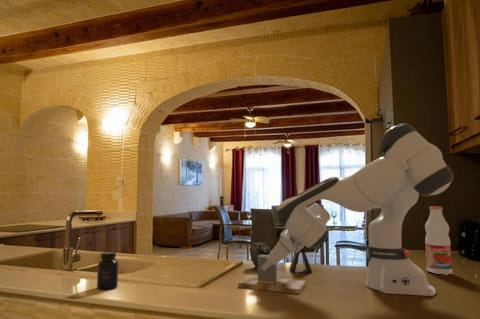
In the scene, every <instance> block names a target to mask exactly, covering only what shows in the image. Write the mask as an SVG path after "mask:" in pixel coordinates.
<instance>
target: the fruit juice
mask: <svg viewBox="0 0 480 319" xmlns="http://www.w3.org/2000/svg"><path fill="white" fill-rule="evenodd" d="M429 211H430V212H429V216H428V219H427V220H426V222H425V224H424V229H425V230H424V231H425V232H426V234H425V238H424V239H425V241H424V245H425V263H426V265H425V266H426V272H427V271H429V272H432V273H436V274H442V275H441V276H449V275H448V274H451V275H453V269H452V268H453V262H452V249H451V246H452V244H451V239H450V237H449V233H450V226H449V224H448V222H447V221H446V219H445V217H444V215H443V206H435V205H433V206H429ZM436 274H435V275H436ZM443 274H444V275H443Z"/></svg>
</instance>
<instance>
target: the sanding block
mask: <svg viewBox="0 0 480 319" xmlns="http://www.w3.org/2000/svg"><path fill="white" fill-rule="evenodd" d="M267 256H268V255H259V256H258V270H257V276H258V282H262V283H275V282H276V281H277V278H278V277H277V276H278V275H277V270H278V269H277V264H278V263H277V264H275V265H271V266H269V267H268V268H267V269H266V270H265V271H264V270H263V269H262V268H261V267H262V265H263V264H264V263H265V262H266V261H267Z"/></svg>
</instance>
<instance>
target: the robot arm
mask: <svg viewBox="0 0 480 319" xmlns="http://www.w3.org/2000/svg"><path fill="white" fill-rule="evenodd" d="M378 147H379V148H378V149H379V150H377V151H378V152H377V155H378V156H381V157H379V158H377V159H375V160H372V161H371V162H369V163H368V164H366V165H364V166H362V167H361V168H360V169H359V170H357V171H356V172H355V173H353V174H352V175H349V176H345V177H338V176H331V177H328V178H326V179H323V180H322V181H320V182H318V183H317V184H315V185H313V186H311V187H309V188H306V189H305V190H304V191H301V192H300V193H298V194H296V195H294V196H291V197H289V198H287V199H285V200H283V201H282V202H280V204H279V205H278V207H276V209H275V217H276V221H277V222H278V223H279V224H281V226H283V227H284V228H285V229H284V230H283V231H282V232H281V233H279V234H280V236H279V241H278V242H277V243H276V245H275V246H274V247H273V248H272V250H271V252H270V253H269V255H268V256H267V261H266V262H265V263H264V264H263V265H262V267H261V268H262V269H263V270H264V271H265V270H266V269H267V268H268V267H269V266H271V265H275V264H279V263H280V261H283V259H285V258H286V257H287V256H289V255H290V254H295V252H299V251H300V250H301V249H302V248H303V247H304V246H305V248H308V249H318V248H320V246H321V245H323V244H324V243H325V241H326V240H327V239H328V236H329V235H328V234H329V232H328V228H327V223H329V221H330V220H331V214H330V213H329V211H328V210H327V209H325V207H323V206H322V205H321V204H319V203H316V202H317V201H318V202H319V201H320V200H325V201H329V202H332V203H335V204H337V205H339V206H341V207H343V208H344V209H346V210H349V211H352V212H354V213H355V212H356V213H366V212H369V211H371V210H374V209H380V210H381V211H380V213H379V215H378V216H377V217H376V218H375V219H373V220H371V221H370V222H369V225H368V230H367V231H368V246H367V249H366V251H367V260H368V268H367V276H366V281H365V286H366V287H367V288H370V289H372V290H375V291H379V292H381V293H382V294H383V293H384V294H390V295H391V294H392V295H412V296H424V297H425V296H430V297H431V296H435V295H436V293H437V291H436V289H435V287H434V286H433V285H431V284H430V283H429V281H428V277H427V275H426V273H425V271H424V270H423V269H422V268H420V267H419V266H418V265H417V264H415V263H414V262H413V261H412V260H410V259H409V257H410V256H411V252H410V250H407V249H406V248H404V247H402V229H403V228H402V227H403V222H404V218H406V215H407V213H408V211H409V210H410V209H411V208H412V207H413V206H414V205H416V203H417V202H418V200H419V195H420V196H423V197H429V196H436V195H439V194H441V193H443V192H444V191H445V190H447V189H448V188H449V187H450V186H451V183H452V182H454V173H453V171H452V169H451V168H450V166H449V165H447V164H446V162H445V160H444V159H443V157H444V156H443V153H442V151H441V150H440V148H438V147H437V146H436V145H434V144H433V143H431V142H428V140H426V139H425V138H424V136H422V135H421V134H420V133H419V132H418V131H417V129H416V128H415V127H414V126H412V125H411V124H409V123H399V124H397V125H394V126H392V127H390V128H389V129H387V131H386V132H385V133H384V134H383V136H382V137H381V138H380V140H379V145H378ZM382 155H383V156H382Z"/></svg>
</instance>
